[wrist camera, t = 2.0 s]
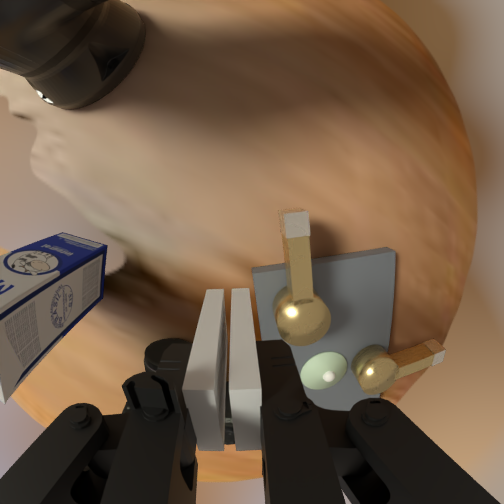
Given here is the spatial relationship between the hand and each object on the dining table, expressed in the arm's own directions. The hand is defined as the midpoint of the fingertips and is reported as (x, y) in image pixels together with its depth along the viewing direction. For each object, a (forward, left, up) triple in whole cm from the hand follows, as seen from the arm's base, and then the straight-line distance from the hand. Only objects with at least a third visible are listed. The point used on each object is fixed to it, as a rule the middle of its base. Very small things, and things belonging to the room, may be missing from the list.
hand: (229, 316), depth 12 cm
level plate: (+17, +10, -16) cm, 25 cm away
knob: (+3, +6, -14) cm, 15 cm away
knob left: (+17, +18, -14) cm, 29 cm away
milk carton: (0, -18, -17) cm, 25 cm away
